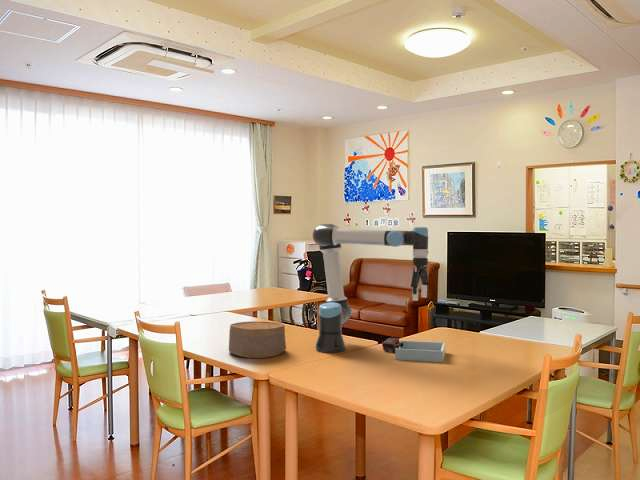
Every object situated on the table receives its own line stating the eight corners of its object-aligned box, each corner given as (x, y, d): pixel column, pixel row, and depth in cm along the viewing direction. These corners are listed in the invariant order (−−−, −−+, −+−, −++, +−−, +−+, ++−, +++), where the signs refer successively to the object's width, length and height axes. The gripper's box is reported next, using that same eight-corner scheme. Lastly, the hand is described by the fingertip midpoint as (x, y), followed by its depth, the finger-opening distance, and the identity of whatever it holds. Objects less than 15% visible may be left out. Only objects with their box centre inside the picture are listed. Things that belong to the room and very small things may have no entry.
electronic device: (397, 346, 268) (405, 338, 273) (381, 343, 275) (388, 335, 280) (399, 353, 270) (406, 345, 275) (382, 350, 276) (390, 342, 281)
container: (294, 350, 279) (294, 321, 279) (266, 362, 254) (266, 330, 254) (248, 345, 291) (247, 317, 290) (217, 356, 266) (217, 326, 265)
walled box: (395, 359, 257) (395, 348, 257) (400, 350, 277) (400, 340, 277) (442, 362, 251) (442, 351, 251) (445, 352, 271) (445, 342, 271)
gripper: (419, 258, 263) (418, 302, 264) (435, 256, 285) (434, 296, 285) (404, 258, 267) (404, 301, 267) (421, 256, 288) (420, 295, 289)
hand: (419, 299), depth 276 cm, fingers open, 13 cm apart
